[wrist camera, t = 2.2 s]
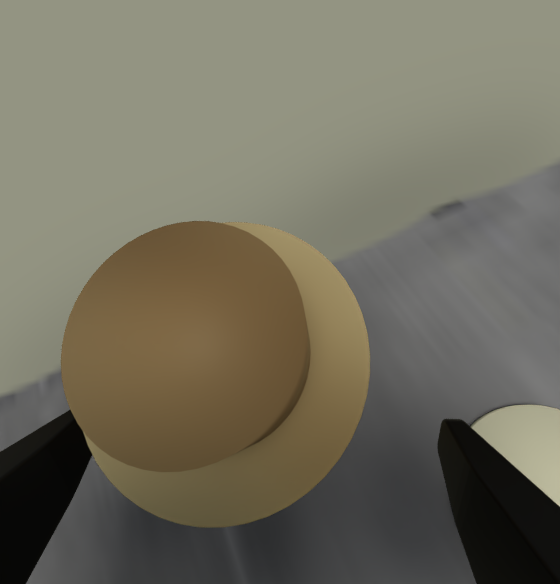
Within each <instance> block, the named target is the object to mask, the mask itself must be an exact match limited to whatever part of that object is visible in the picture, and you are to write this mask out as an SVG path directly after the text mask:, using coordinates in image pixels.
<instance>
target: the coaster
mask: <svg viewBox="0 0 560 584" xmlns="http://www.w3.org/2000/svg"><path fill="white" fill-rule="evenodd" d="M470 427H471V428H472V429H473V430H475V431H476V432H477V433H478V434H479V435H480V436H481V437H482V438H484V439H485V440H486V441H487V442H488V443H489V444H490V445H491V446H492V447H494V448H495V449H496V450H497V451H498V452H499V453H500V454H501V455H503V456H504V457H505V458H506V459H507V460H508V461H509V462H510V463H512V464H513V465H514V466H515V467H516V468H517V469H518V470H519V471H520V472H522V473H523V474H524V475H525V476H526V477H527V478H528V479H529V480H531V481H532V482H533V483H534V484H535V485H536V486H537V487H538V488H539V489H541V490H542V491H543V492H544V493H545V494H546V495H547V496H548V497H550V498H551V499H552V500H553V501H554V502H555V503H556V504H557V505H559V506H560V410H559V409H556V408H551V407H546V406H540V405H513V406H507V407H503V408H499V409H496V410H493V411H491V412H489V413H487V414H485V415H483V416H482V417H481V418H479V419H478V420H476V421H475V422H474V423H473V424H472V425H471V426H470Z"/></svg>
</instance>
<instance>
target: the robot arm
mask: <svg viewBox="0 0 560 584" xmlns="http://www.w3.org/2000/svg"><path fill="white" fill-rule="evenodd" d="M438 454H439V458H440V462H441V466H442V470H443V474H444V478H445V483H446V487H447V491H448V495H449V499H450V503H451V507H452V511H453V515H454V519H455V523H456V526H457V529H458V532H459V535H460V538H461V541H462V543H463V546H464V549H465V552H466V555H467V558H468V560H469V563H470V566H471V569H472V572H473V575H474V577H475V580H476V583H477V584H560V506H559V505H557V504H556V503H555V502H554V501H553V500H552V499H551V498H550V497H548V496H547V495H546V494H545V493H544V492H543V491H542V490H541V489H539V488H538V487H537V486H536V485H535V484H534V483H533V482H532V481H531V480H529V479H528V478H527V477H526V476H525V475H524V474H523V473H522V472H520V471H519V470H518V469H517V468H516V467H515V466H514V465H513V464H512V463H510V462H509V461H508V460H507V459H506V458H505V457H504V456H503V455H501V454H500V453H499V452H498V451H497V450H496V449H495V448H494V447H492V446H491V445H490V444H489V443H488V442H487V441H486V440H485V439H484V438H482V437H481V436H480V435H479V434H478V433H477V432H476V431H475V430H473V429H472V428H471V427H470V426H469V425H468V424H467V423H466V422H464V421H463V420H460V419H444V420H443V421H442V424H441V429H440V434H439V439H438ZM91 456H92V453H91V451H90V449H89V447H88V444H87V441H86V438H85V436H84V433H83V430H82V429H81V427H80V426H79V425H78V423H77V421H76V420H75V418H74V416H73V414H72V412H71V410H69V411H67V412H66V413H64V414H62V415H61V416H59V417H57V418H56V419H54V420H52V421H51V422H49V423H47V424H46V425H44V426H42V427H41V428H39V429H38V430H36V431H34V432H33V433H31V434H29V435H28V436H26V437H24V438H23V439H21V440H19V441H18V442H16V443H14V444H13V445H11V446H9V447H8V448H6V449H4V450H3V451H1V452H0V584H26V582H27V581H28V579H29V577H30V575H31V573H32V571H33V570H34V568H35V566H36V564H37V562H38V560H39V559H40V557H41V555H42V553H43V551H44V550H45V548H46V546H47V544H48V542H49V540H50V539H51V537H52V535H53V533H54V531H55V530H56V528H57V526H58V524H59V522H60V520H61V519H62V517H63V515H64V513H65V511H66V510H67V508H68V506H69V504H70V502H71V500H72V498H73V496H74V494H75V492H76V490H77V488H78V486H79V483H80V481H81V479H82V477H83V474H84V472H85V470H86V467H87V465H88V463H89V461H90V458H91Z"/></svg>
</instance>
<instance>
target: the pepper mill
mask: <svg viewBox="0 0 560 584" xmlns="http://www.w3.org/2000/svg"><path fill="white" fill-rule="evenodd" d="M61 373H62V382H63V387H64V392H65V396H66V399H67V402H68V404H69V407H70V410H71V412H72V414H73V416H74V418H75V420H76V421H77V423H78V425H79V426H80V427H81V429H82V430H83V433H84V436H85V438H86V441H87V444H88V447H89V449H90V451H91V453H92V455H93V456H94V458H95V460H96V462H97V464H98V466H99V467H100V468H101V470H102V471H103V473H104V474H105V475H106V477H107V478H108V479H109V481H110V482H111V483H112V484H113V485H114V486H115V487H116V488H117V489H118V490H119V491H120V492H121V493H122V494H123V495H124V496H125V497H127V498H128V499H129V500H131V501H132V502H133V503H135V504H136V505H137V506H139V507H140V508H142V509H144V510H146V511H148V512H150V513H152V514H154V515H155V516H157V517H159V518H162V519H166V520H169V521H172V522H175V523H178V524H182V525H188V526H195V527H201V528H202V527H229V526H235V525H241V524H247V523H250V522H253V521H256V520H259V519H262V518H265V517H268V516H270V515H272V514H274V513H276V512H278V511H280V510H282V509H284V508H286V507H288V506H290V505H291V504H292V503H294V502H295V501H297V500H298V499H300V498H301V497H302V496H304V495H305V494H307V493H308V492H309V491H310V490H311V489H312V488H313V487H315V486H316V485H317V484H318V483H319V482H320V481H321V480H322V479H323V478H324V477H325V476H326V475H327V474H328V472H329V471H330V470H331V469H332V467H333V466H334V465H335V464H336V462H337V461H338V460H339V459H340V457H341V456H342V454H343V452H344V451H345V449H346V447H347V446H348V444H349V442H350V441H351V439H352V437H353V434H354V432H355V430H356V427H357V425H358V423H359V420H360V418H361V415H362V411H363V408H364V404H365V401H366V397H367V391H368V384H369V377H370V350H369V342H368V335H367V330H366V326H365V323H364V319H363V315H362V312H361V310H360V308H359V305H358V303H357V300H356V298H355V296H354V294H353V292H352V291H351V289H350V287H349V286H348V284H347V282H346V280H345V279H344V278H343V277H342V275H341V274H340V273H339V271H338V270H337V269H336V268H335V266H334V265H333V264H332V263H331V262H330V261H329V260H328V259H327V258H325V257H324V256H323V255H322V254H321V253H320V252H319V251H317V250H316V249H314V248H313V247H312V246H311V245H309V244H308V243H306V242H304V241H303V240H301V239H299V238H297V237H295V236H294V235H291V234H289V233H286V232H284V231H281V230H279V229H276V228H272V227H268V226H264V225H260V224H251V223H242V222H238V223H237V222H228V223H216V222H209V221H192V222H182V223H176V224H171V225H167V226H164V227H161V228H158V229H155V230H152V231H150V232H148V233H145V234H143V235H141V236H139V237H137V238H136V239H134V240H132V241H131V242H129V243H127V244H126V245H124V246H123V247H122V248H120V249H119V250H118V251H116V252H115V253H114V254H113V255H112V256H110V257H109V258H108V259H107V260H106V261H105V262H104V263H103V264H102V265H101V266H100V267H99V268H98V270H97V271H96V272H95V273H94V274H93V275H92V277H91V278H90V280H89V281H88V282H87V284H86V285H85V286H84V288H83V290H82V291H81V293H80V295H79V297H78V298H77V300H76V302H75V304H74V307H73V309H72V311H71V314H70V316H69V319H68V323H67V326H66V329H65V333H64V338H63V344H62V354H61Z"/></svg>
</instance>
